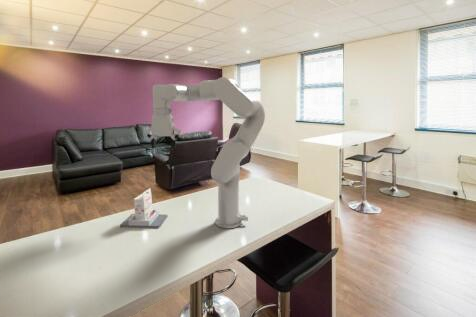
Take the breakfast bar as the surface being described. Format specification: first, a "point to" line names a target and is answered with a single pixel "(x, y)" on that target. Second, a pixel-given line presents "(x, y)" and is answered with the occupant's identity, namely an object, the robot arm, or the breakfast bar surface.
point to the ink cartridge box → (143, 206)
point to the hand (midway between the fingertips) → (163, 147)
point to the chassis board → (145, 221)
